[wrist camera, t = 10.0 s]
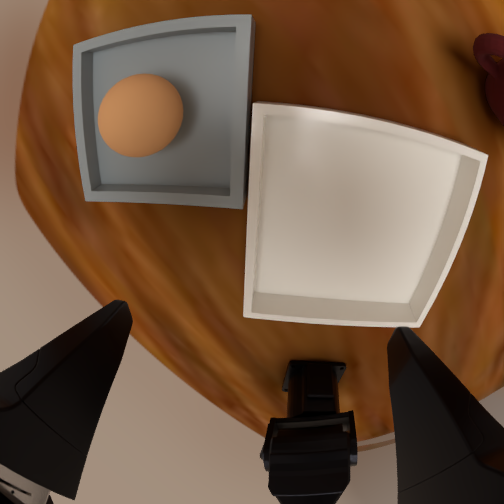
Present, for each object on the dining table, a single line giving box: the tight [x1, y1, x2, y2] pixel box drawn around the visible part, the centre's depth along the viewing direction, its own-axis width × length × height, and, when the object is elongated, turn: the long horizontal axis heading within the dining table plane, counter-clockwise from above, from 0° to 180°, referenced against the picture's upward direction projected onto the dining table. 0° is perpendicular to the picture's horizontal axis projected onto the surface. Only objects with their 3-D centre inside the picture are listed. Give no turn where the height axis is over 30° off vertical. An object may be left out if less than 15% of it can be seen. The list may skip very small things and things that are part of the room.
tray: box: [73, 15, 256, 209], centre depth 15 cm, size 12×12×2 cm
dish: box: [243, 101, 488, 327], centre depth 18 cm, size 15×15×3 cm
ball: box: [98, 74, 183, 157], centre depth 14 cm, size 5×5×5 cm
